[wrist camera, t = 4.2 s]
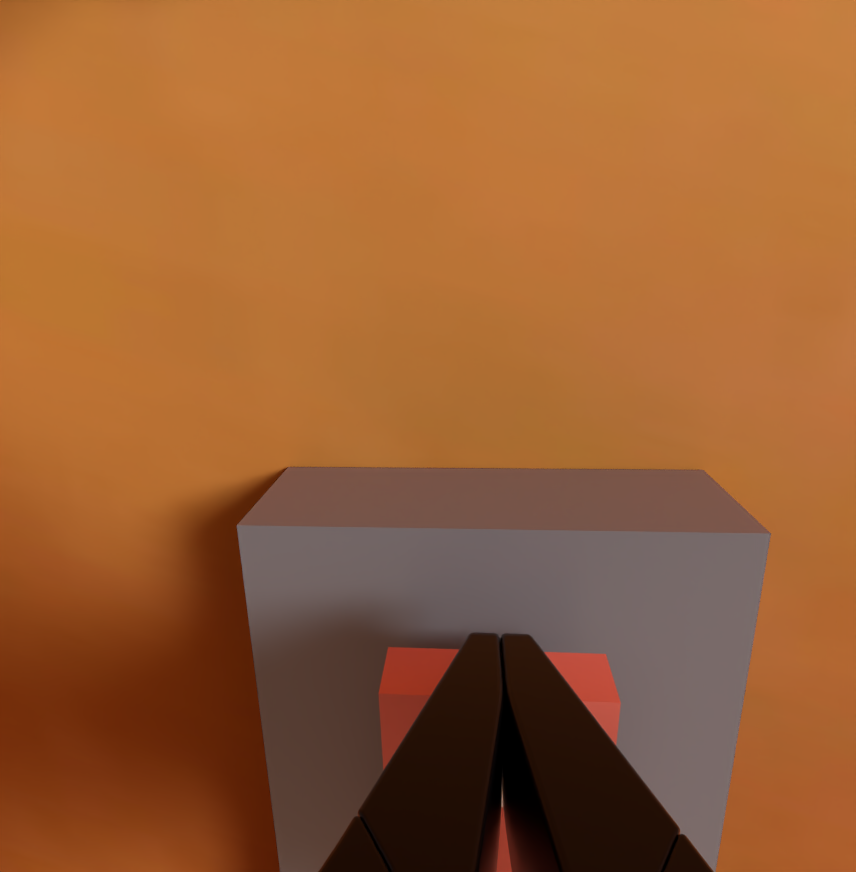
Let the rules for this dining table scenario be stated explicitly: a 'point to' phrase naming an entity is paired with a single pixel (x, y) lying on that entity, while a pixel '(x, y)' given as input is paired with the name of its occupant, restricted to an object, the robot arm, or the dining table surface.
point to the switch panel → (497, 617)
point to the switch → (424, 667)
